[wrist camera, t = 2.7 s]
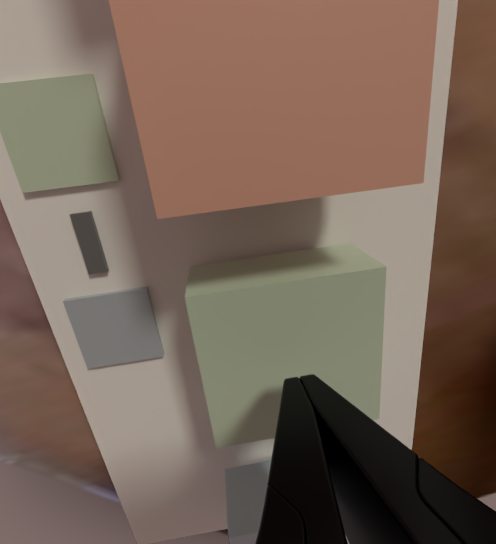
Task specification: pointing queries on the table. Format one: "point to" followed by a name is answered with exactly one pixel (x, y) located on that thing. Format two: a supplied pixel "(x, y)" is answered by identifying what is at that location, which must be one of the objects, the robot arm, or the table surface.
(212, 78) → the key terracotta
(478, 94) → the table surface
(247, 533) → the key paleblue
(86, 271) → the keypad base
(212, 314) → the key sage
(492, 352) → the table surface
